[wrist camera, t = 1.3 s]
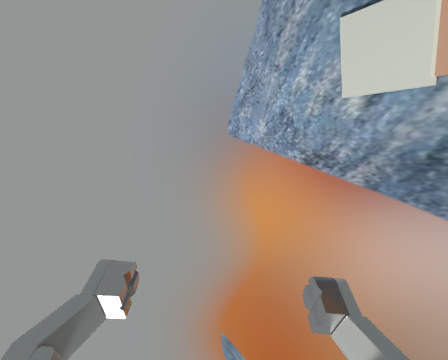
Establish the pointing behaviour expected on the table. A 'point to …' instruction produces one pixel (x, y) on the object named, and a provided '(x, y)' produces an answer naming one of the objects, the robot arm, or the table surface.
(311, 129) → the table surface
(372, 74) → the mat
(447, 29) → the tile
